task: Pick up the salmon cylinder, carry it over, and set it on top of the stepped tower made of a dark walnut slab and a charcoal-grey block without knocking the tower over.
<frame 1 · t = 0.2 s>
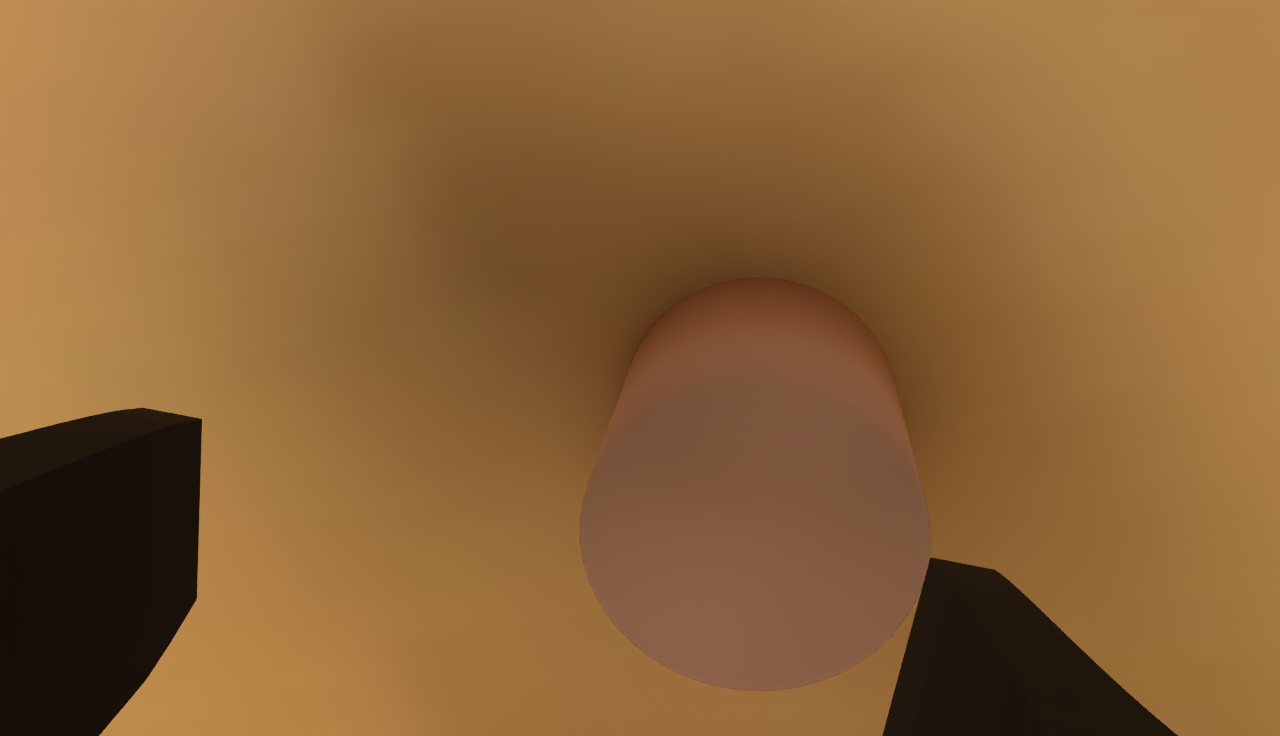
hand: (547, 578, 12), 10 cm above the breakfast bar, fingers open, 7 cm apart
salmon cylinder: (758, 409, 21), on the breakfast bar
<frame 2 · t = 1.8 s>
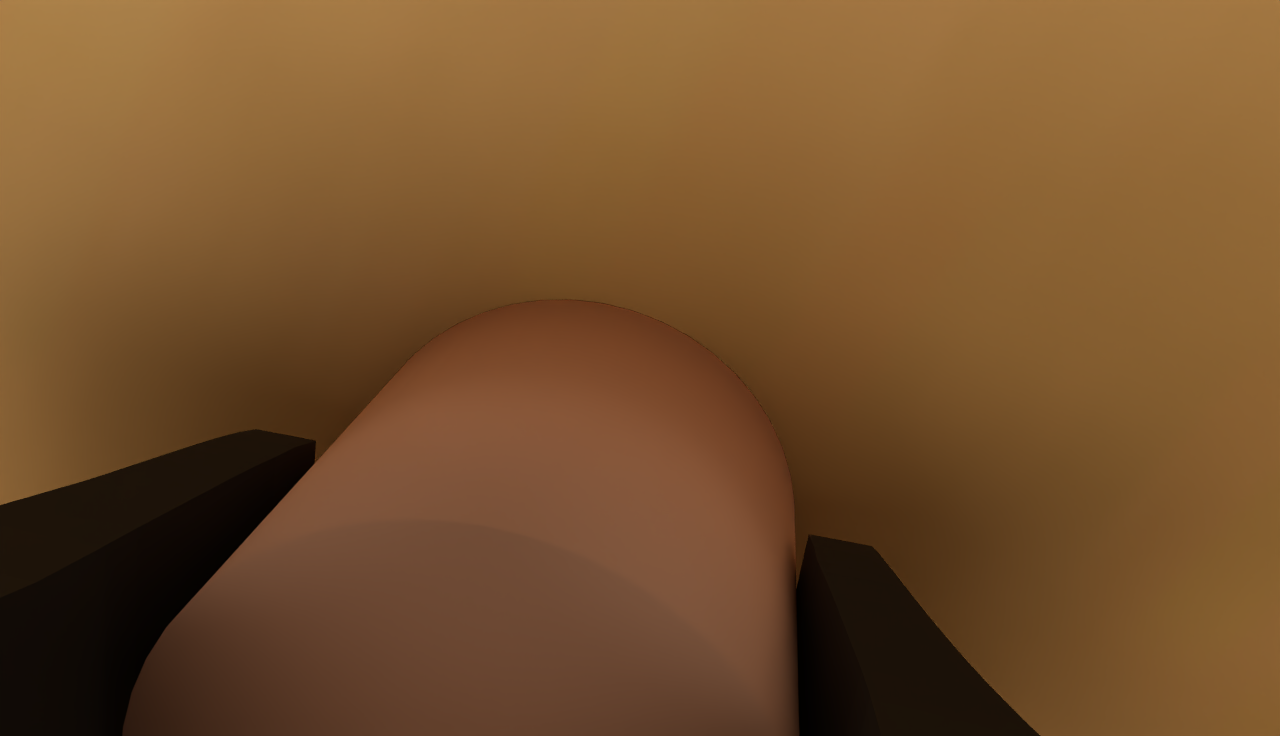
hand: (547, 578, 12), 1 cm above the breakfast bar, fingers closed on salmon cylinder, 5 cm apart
salmon cylinder: (571, 512, 13), on the breakfast bar, touching gripper
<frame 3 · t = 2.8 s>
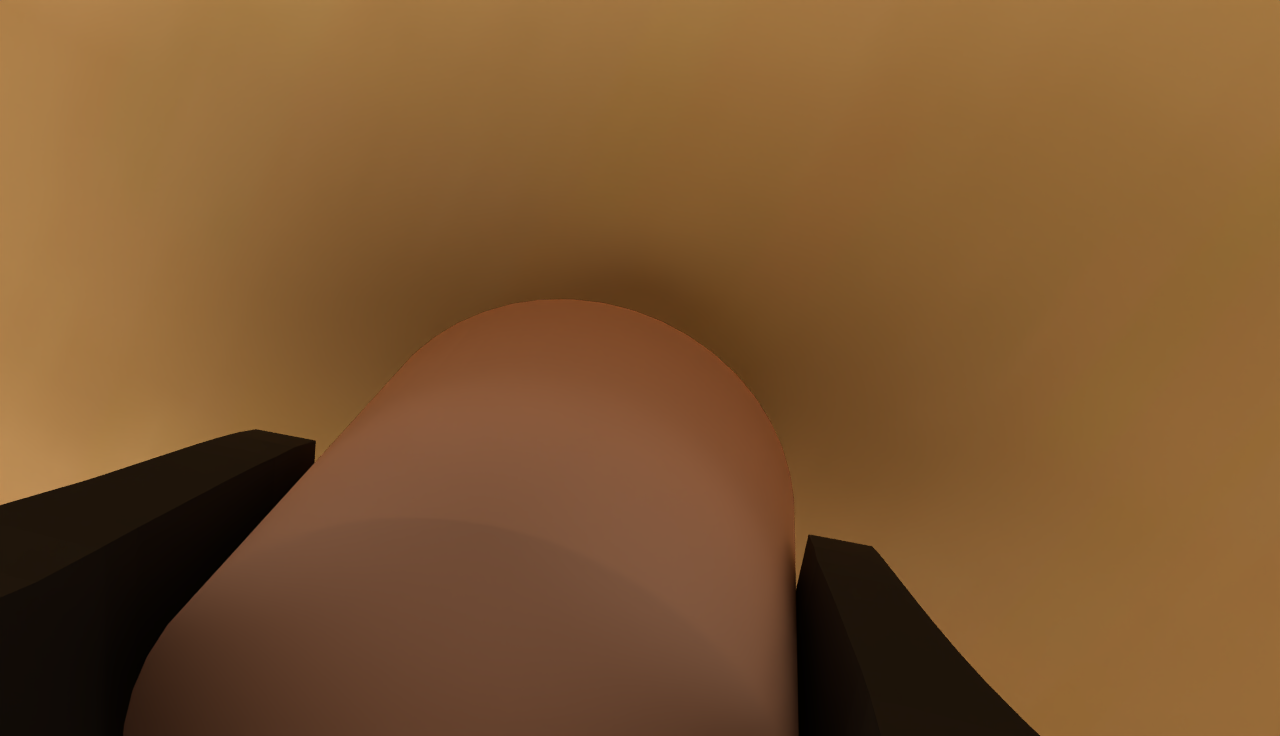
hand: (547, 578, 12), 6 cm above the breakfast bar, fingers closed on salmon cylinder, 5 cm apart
salmon cylinder: (571, 511, 13), point 5 cm above the breakfast bar, touching gripper
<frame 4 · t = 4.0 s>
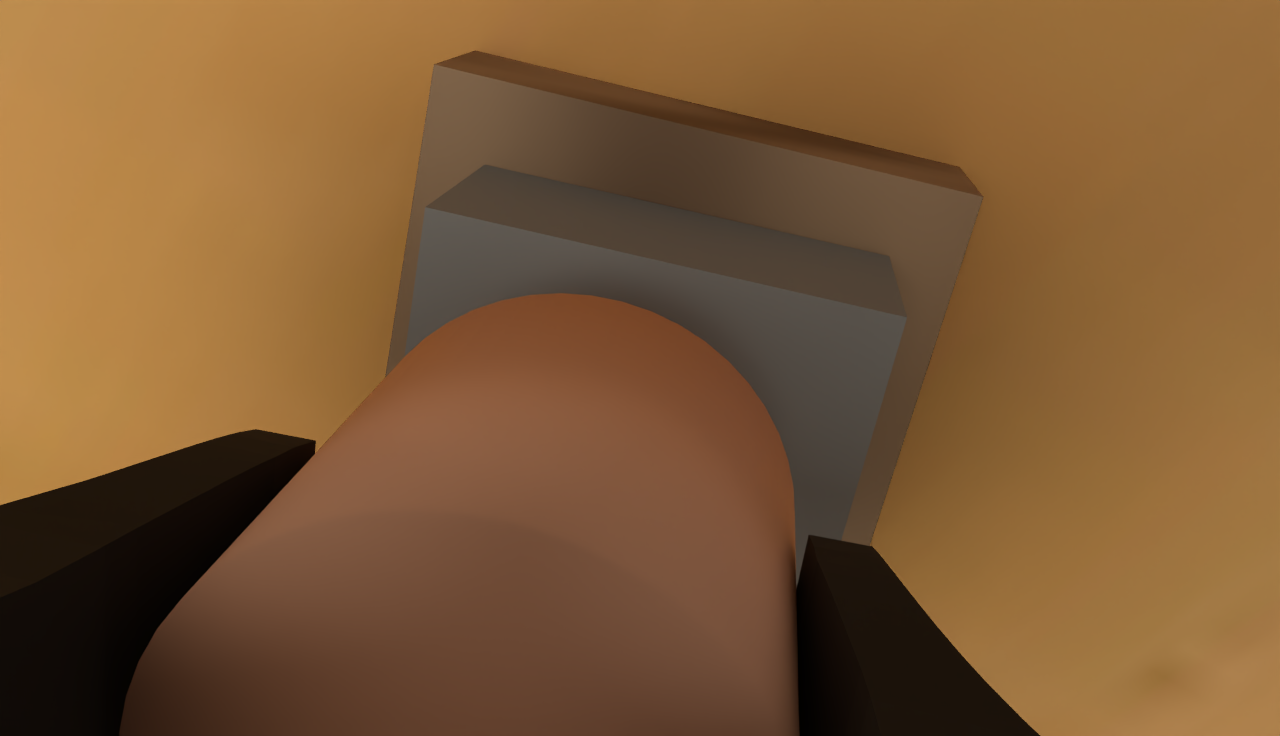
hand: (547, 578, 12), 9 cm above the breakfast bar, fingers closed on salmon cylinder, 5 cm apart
walnut slab: (663, 328, 21), on the breakfast bar, touching charcoal block
salmon cylinder: (571, 507, 13), point 8 cm above the breakfast bar, touching gripper
charcoal block: (644, 398, 18), point 2 cm above the breakfast bar, touching walnut slab
when the fingers open (8 cm above the breakfast bar, at t = 4.9 s): salmon cylinder drops 1 cm, resting on charcoal block.
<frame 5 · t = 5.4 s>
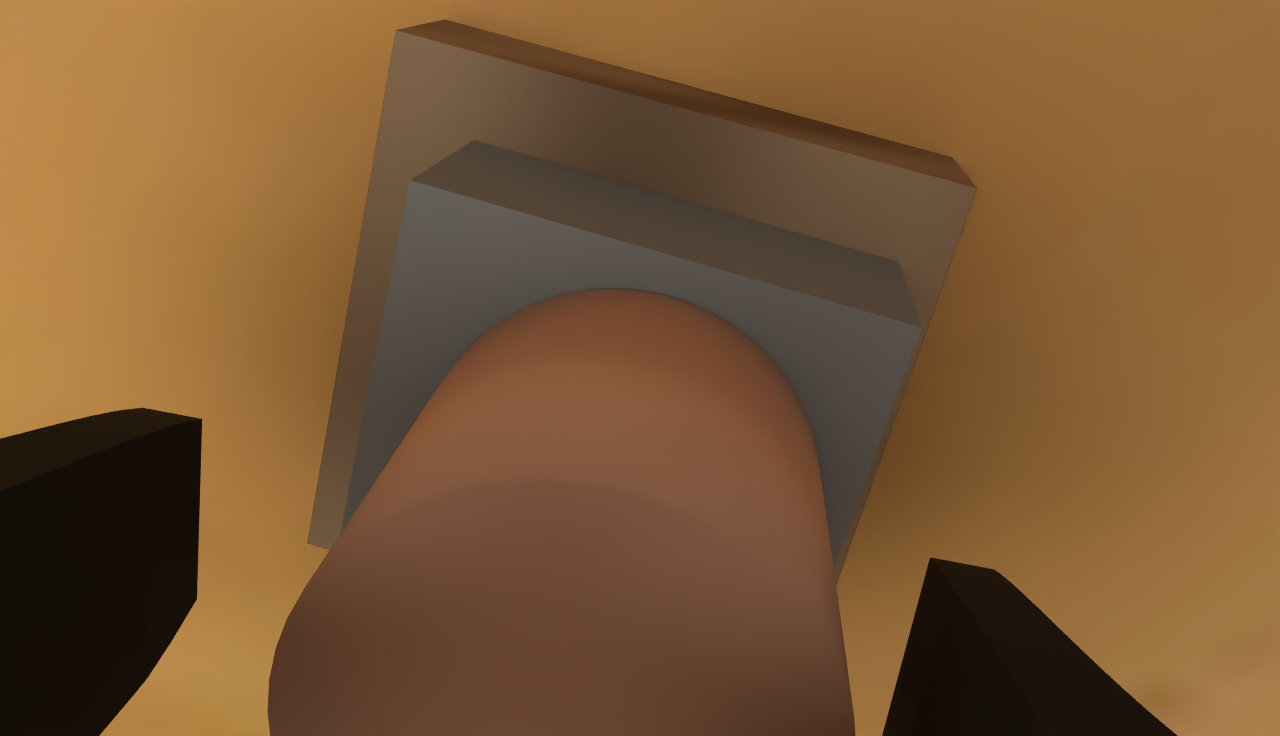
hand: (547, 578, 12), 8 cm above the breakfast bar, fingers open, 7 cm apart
walnut slab: (637, 320, 20), on the breakfast bar, touching charcoal block
salmon cylinder: (617, 480, 14), point 6 cm above the breakfast bar, touching charcoal block
charcoal block: (629, 397, 17), point 2 cm above the breakfast bar, touching salmon cylinder, walnut slab
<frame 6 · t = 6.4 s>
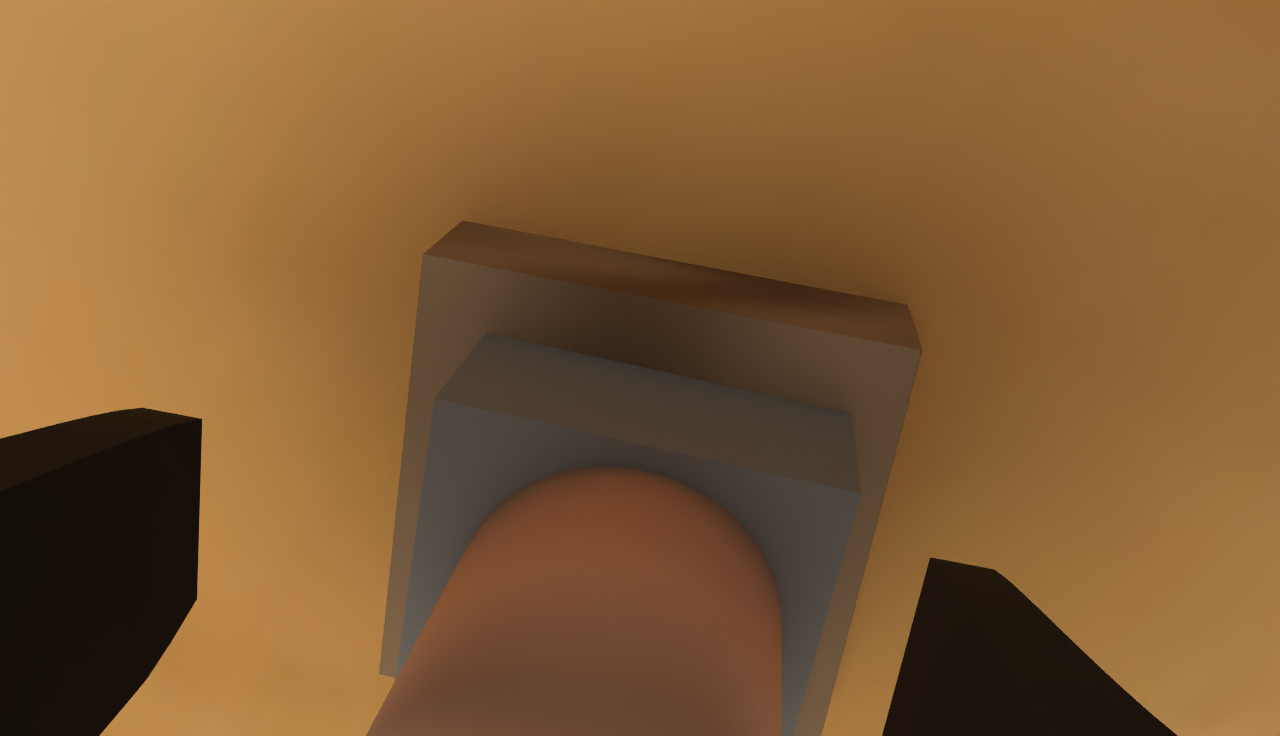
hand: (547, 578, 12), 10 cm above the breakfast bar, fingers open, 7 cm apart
walnut slab: (648, 454, 23), on the breakfast bar
salmon cylinder: (615, 617, 17), point 5 cm above the breakfast bar, touching charcoal block
charcoal block: (632, 535, 20), point 2 cm above the breakfast bar, touching salmon cylinder
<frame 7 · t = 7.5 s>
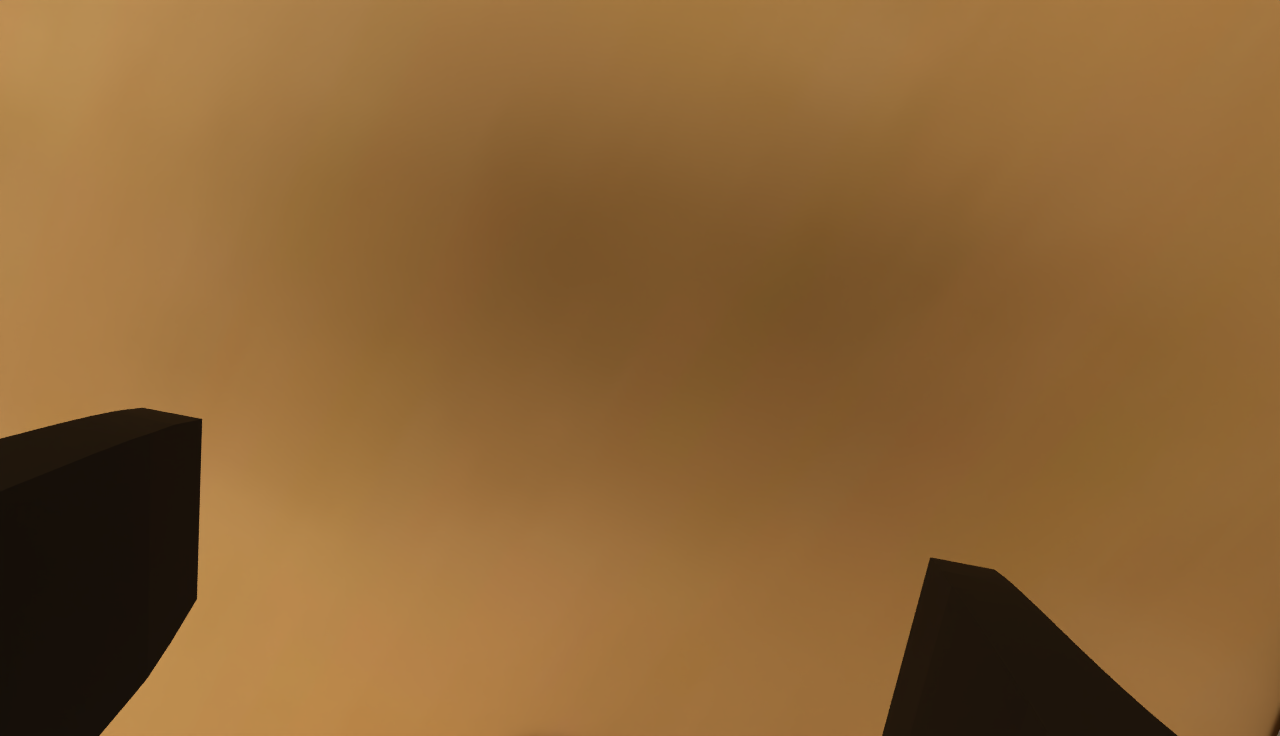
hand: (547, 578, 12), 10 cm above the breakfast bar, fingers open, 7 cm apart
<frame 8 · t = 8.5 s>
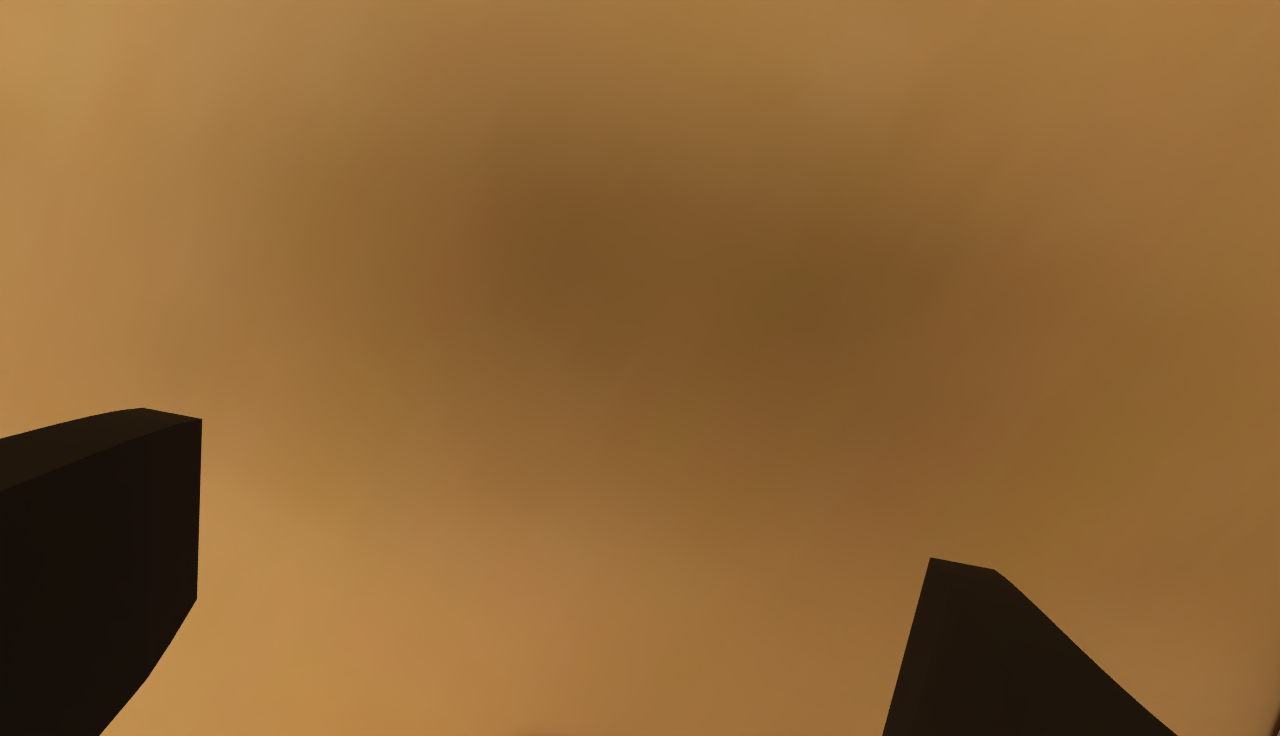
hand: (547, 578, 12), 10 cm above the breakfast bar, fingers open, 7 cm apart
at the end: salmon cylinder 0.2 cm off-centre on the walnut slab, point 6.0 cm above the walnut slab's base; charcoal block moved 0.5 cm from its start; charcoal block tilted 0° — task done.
